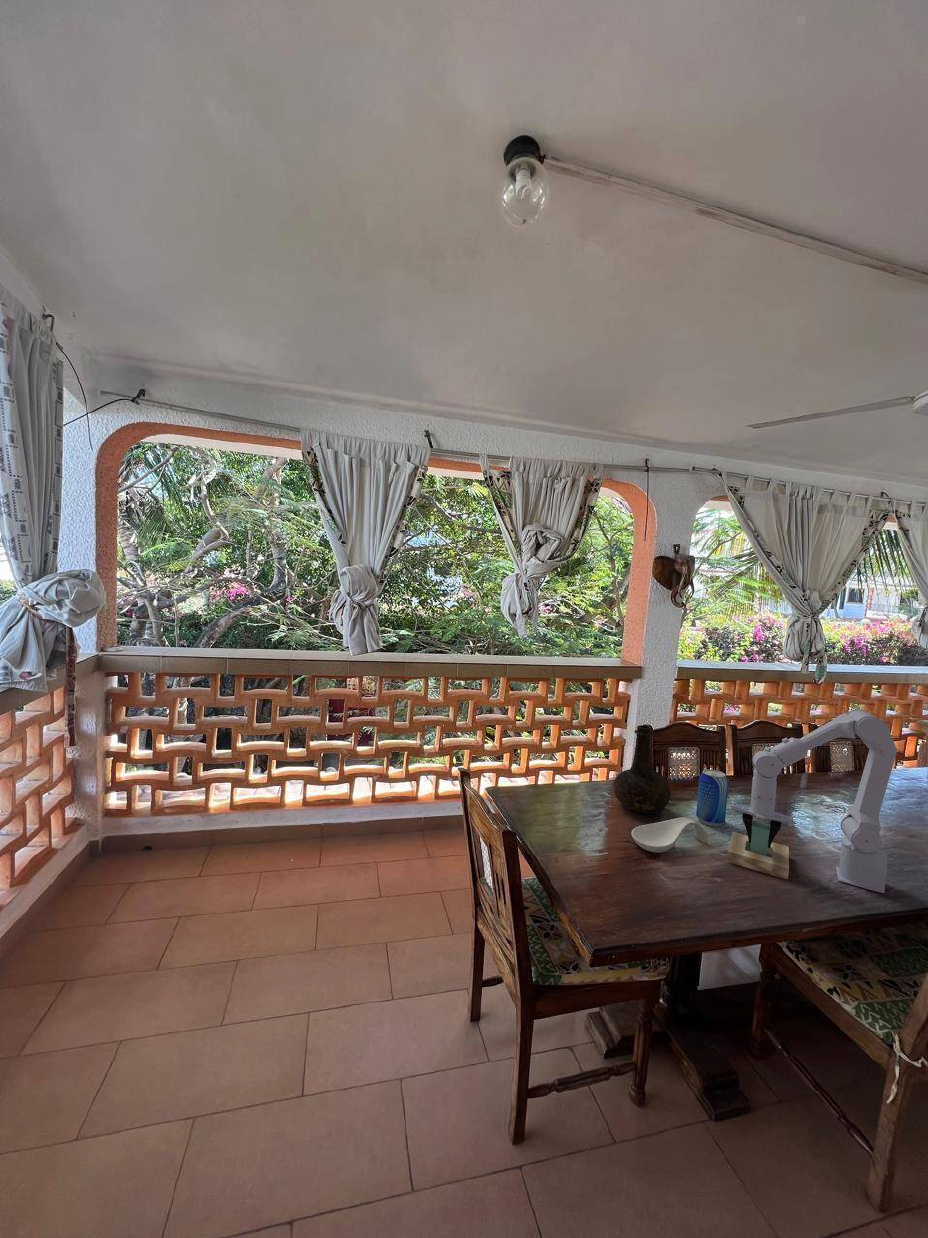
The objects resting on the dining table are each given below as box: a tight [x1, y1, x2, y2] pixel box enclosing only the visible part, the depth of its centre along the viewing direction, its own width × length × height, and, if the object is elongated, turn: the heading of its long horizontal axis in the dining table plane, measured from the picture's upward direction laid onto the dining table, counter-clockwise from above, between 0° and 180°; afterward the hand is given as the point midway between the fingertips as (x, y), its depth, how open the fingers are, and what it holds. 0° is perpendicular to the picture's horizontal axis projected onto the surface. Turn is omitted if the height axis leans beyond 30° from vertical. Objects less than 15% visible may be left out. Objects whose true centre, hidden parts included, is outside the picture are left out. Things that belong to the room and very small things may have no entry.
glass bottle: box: [613, 724, 671, 815], centre depth 171 cm, size 18×18×28 cm
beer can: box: [695, 768, 729, 828], centre depth 164 cm, size 8×8×16 cm
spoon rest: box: [631, 816, 708, 854], centre depth 147 cm, size 24×12×7 cm, turn 110°
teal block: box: [750, 820, 770, 856], centre depth 141 cm, size 4×4×8 cm
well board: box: [726, 831, 790, 880], centre depth 141 cm, size 14×14×3 cm
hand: (759, 844), depth 141 cm, fingers closed on teal block, 4 cm apart
